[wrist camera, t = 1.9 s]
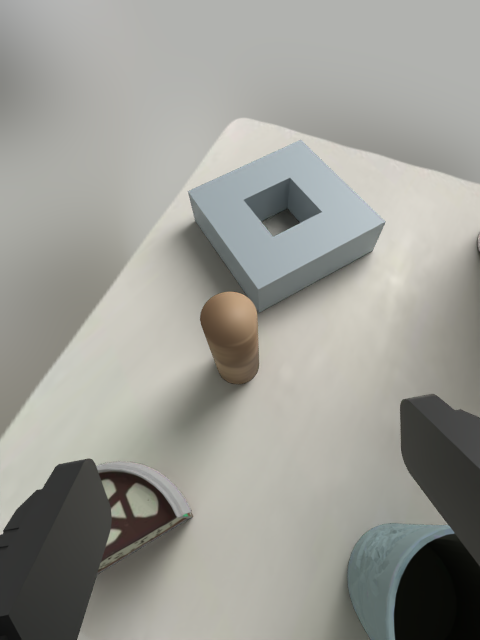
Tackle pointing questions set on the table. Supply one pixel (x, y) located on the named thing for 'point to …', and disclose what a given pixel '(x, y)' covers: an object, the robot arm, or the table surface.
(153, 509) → the food container
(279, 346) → the table surface
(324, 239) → the socket block
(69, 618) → the robot arm
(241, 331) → the peg
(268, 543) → the table surface
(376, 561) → the teal plant pot
